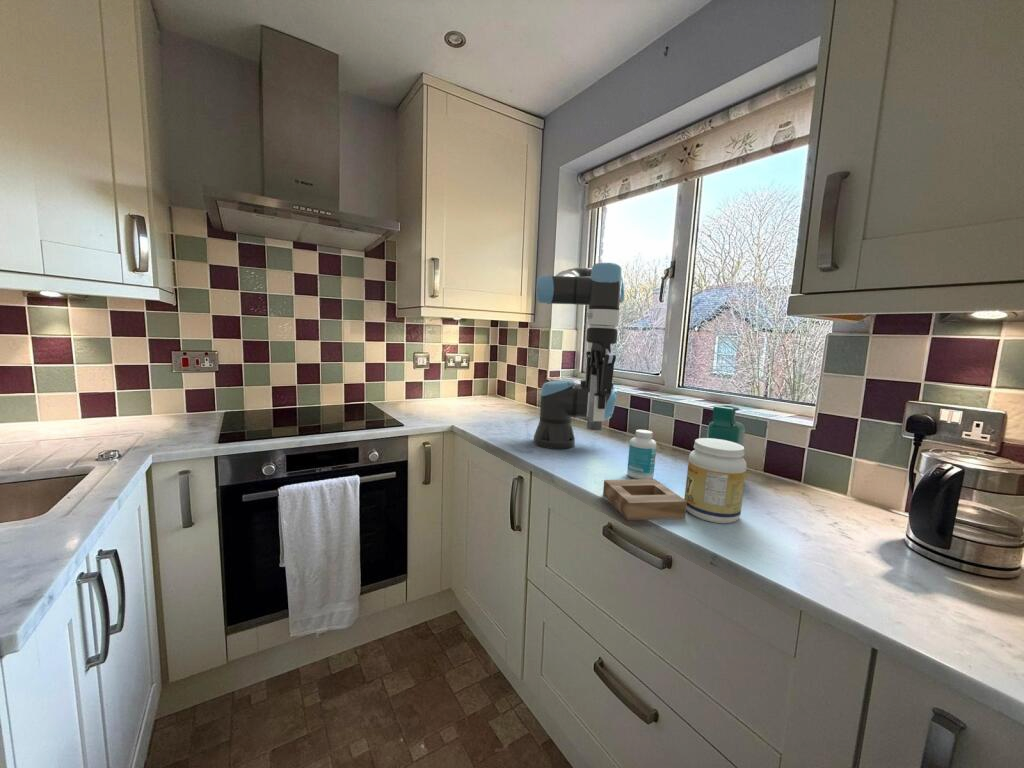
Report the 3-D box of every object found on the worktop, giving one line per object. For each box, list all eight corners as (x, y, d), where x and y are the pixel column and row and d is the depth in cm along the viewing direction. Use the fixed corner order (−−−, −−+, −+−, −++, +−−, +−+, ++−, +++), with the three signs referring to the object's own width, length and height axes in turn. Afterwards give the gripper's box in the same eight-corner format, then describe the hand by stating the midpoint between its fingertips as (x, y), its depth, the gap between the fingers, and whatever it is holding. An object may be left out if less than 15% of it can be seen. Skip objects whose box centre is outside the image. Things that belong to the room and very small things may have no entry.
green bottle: (710, 471, 128) (718, 402, 126) (740, 479, 123) (749, 406, 120) (698, 478, 122) (707, 404, 119) (729, 486, 116) (739, 409, 113)
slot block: (602, 495, 105) (604, 480, 104) (653, 493, 107) (654, 479, 107) (627, 520, 91) (629, 502, 91) (685, 518, 94) (687, 501, 93)
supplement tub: (682, 499, 105) (689, 434, 103) (735, 508, 101) (744, 440, 99) (683, 518, 94) (691, 445, 91) (744, 530, 89) (753, 454, 87)
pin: (584, 426, 108) (588, 373, 106) (598, 426, 109) (602, 374, 107) (590, 430, 104) (594, 375, 102) (604, 430, 105) (608, 376, 103)
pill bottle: (655, 482, 116) (659, 435, 114) (627, 479, 118) (632, 433, 116) (651, 473, 123) (655, 429, 122) (626, 470, 125) (629, 427, 123)
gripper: (576, 326, 110) (570, 411, 114) (601, 326, 94) (593, 426, 97) (603, 327, 112) (596, 412, 115) (631, 328, 95) (623, 426, 99)
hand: (595, 418), depth 106 cm, fingers closed on pin, 4 cm apart
